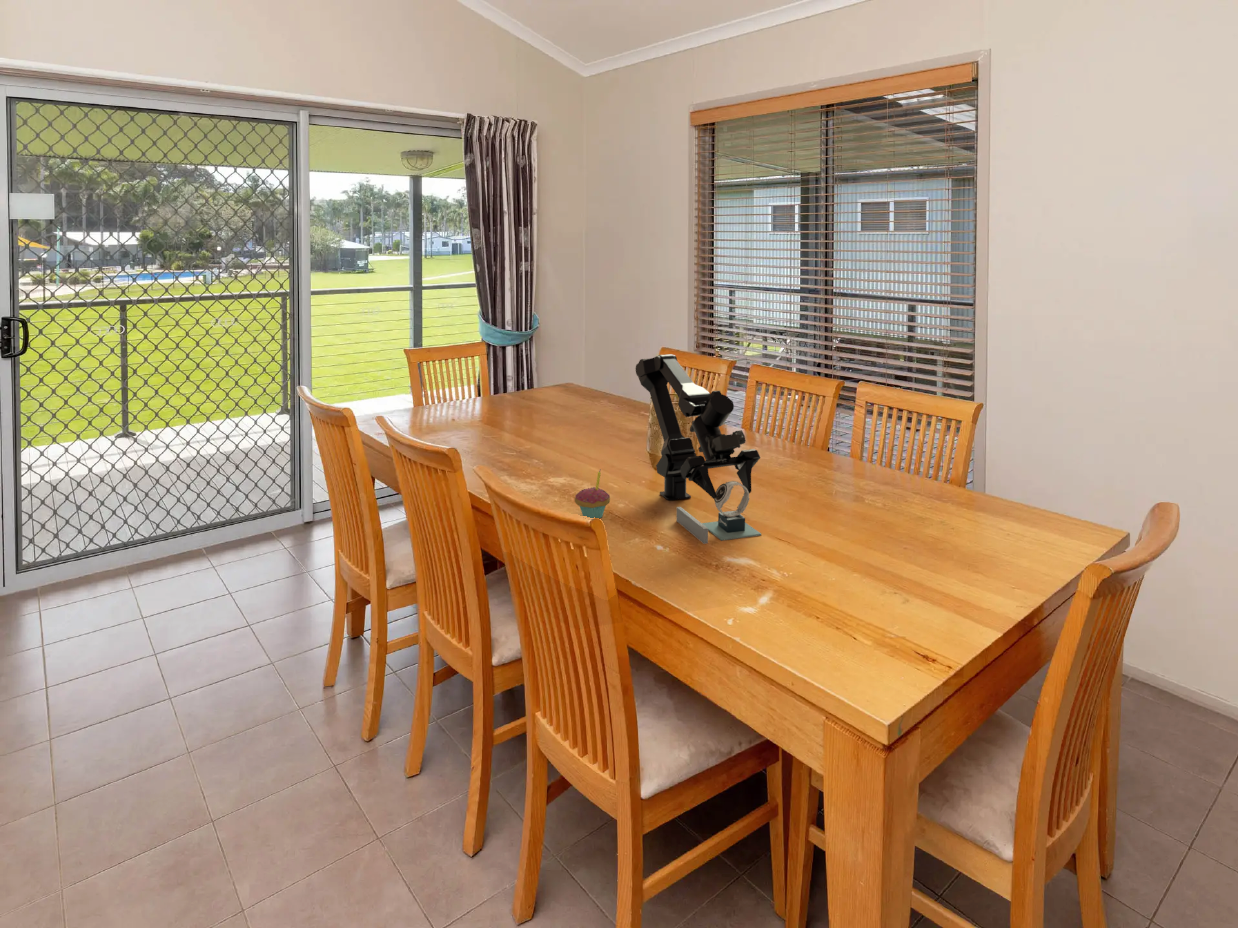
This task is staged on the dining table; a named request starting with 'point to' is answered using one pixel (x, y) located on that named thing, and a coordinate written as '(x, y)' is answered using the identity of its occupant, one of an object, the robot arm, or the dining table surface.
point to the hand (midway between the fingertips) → (732, 495)
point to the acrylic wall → (692, 525)
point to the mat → (723, 535)
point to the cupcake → (592, 500)
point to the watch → (731, 519)
